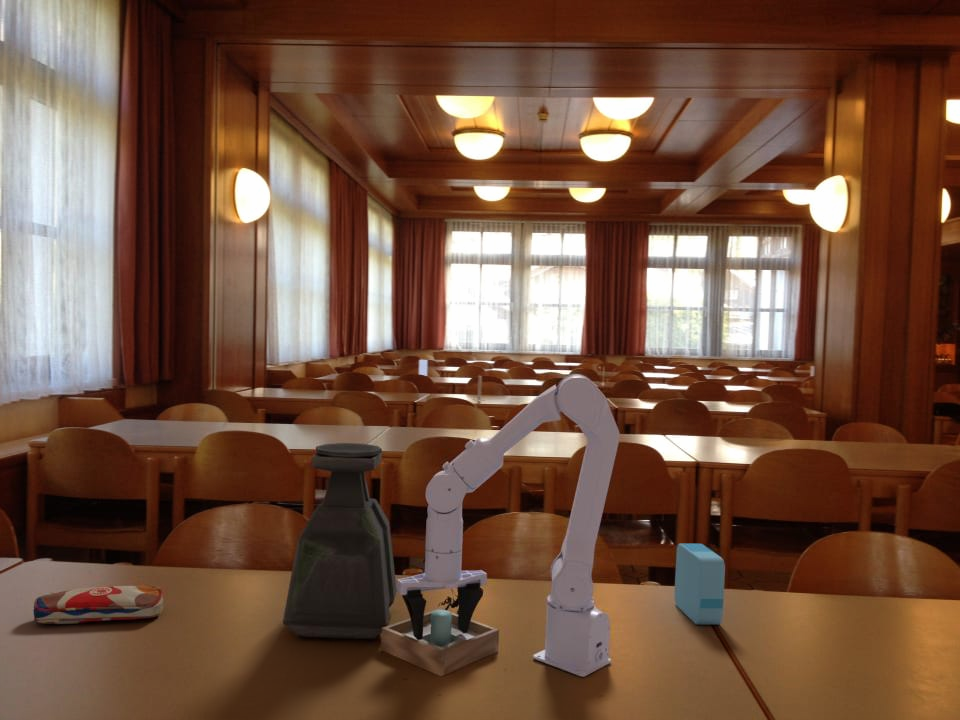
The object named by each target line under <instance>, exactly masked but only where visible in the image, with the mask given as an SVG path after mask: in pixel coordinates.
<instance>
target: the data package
mask: <svg viewBox="0 0 960 720" xmlns="http://www.w3.org/2000/svg"><path fill="white" fill-rule="evenodd" d="M675 559H676V561H675V562H676V563H675V576H674V578H675V579H674V603H675V605H676V607H677V608H678V609H679V610H680V611H681V612H682V613H683V614H685V616H687V617H688V618H689V619H690V620H691V621H692V623H693V624H695V625H702V626H704V625H707V626H708V625H721V624H722V622H723V617H724V616H723V614H724V599H725V598H724V596H725V594H724V593H725V592H724V591H725V575H726V574H725V573H726V564H725V562H724V559H723V558H722V557H721V556H720V555H719V554H717V553H716V552H714V551H713V550H712V549H710V548H709V547H707V546H706V545H704V544H703V543H678V544H677V547H676V558H675Z"/></svg>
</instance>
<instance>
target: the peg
mask: <svg viewBox="0 0 960 720" xmlns="http://www.w3.org/2000/svg"><path fill="white" fill-rule="evenodd" d="M434 610H435V611H433V610H432V611H433V612H432V613H431V636H430V643H433V644H435V645H437V646H440V647H442V646H444V645H447V644H449V643H451V622H452V613H453V612H452V613H451V610H450V611H449V610H445V609H444V610H436V609H434Z"/></svg>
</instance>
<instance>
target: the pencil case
mask: <svg viewBox="0 0 960 720" xmlns="http://www.w3.org/2000/svg"><path fill="white" fill-rule="evenodd" d="M163 608H164V598H163V590H162V589H161V588H159V587H158V586H157V587H156V586H152V585H151V586H149V585H115V586H114V585H113V586H111V585H110V586H93V587H92V586H91V587H84V588H83V587H82V588H76V589H68V590H63V591H59V592H54V593H50V594H49V593H48V594H44V595H40V596H38V597H36V598H35V599H34V603H33V618H34V619H33V620H34V622H36V623H40V624H43V625H45V624H47V625H60V624H61V625H74V624H82V623H90V622H103V621H126V620H137V619H151V618H155V617H158V616H159V615H160V614H161V613H162V611H163V610H164V609H163Z"/></svg>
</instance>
